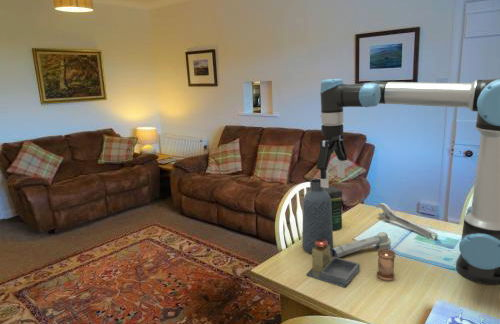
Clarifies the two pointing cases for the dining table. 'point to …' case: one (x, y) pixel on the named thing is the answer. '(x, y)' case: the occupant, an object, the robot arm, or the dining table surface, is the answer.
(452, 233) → the dining table surface
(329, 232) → the vase
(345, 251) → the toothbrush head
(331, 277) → the fitting base
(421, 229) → the wrench
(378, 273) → the cylinder
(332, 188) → the coffee jar
